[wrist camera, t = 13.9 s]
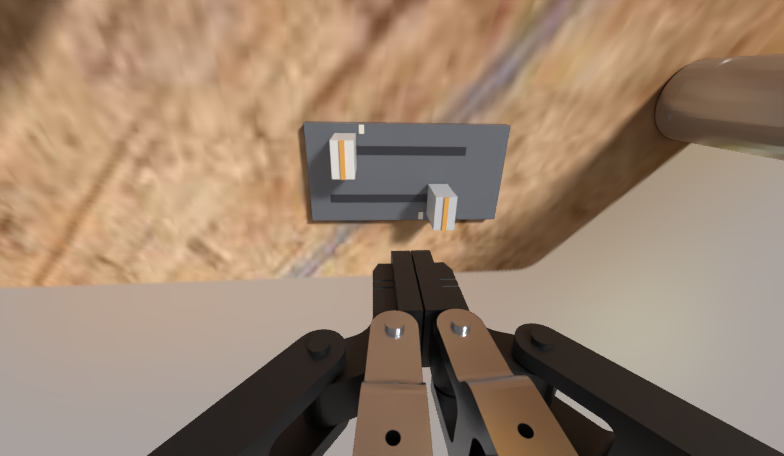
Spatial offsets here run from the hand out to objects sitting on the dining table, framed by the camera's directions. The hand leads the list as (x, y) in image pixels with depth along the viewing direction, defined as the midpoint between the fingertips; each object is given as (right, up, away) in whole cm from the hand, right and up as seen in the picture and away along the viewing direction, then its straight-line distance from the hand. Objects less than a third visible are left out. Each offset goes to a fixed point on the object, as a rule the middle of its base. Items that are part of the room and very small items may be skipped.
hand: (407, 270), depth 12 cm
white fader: (-6, +11, +24) cm, 27 cm away
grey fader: (+5, +5, +27) cm, 28 cm away
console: (+1, +9, +27) cm, 29 cm away
